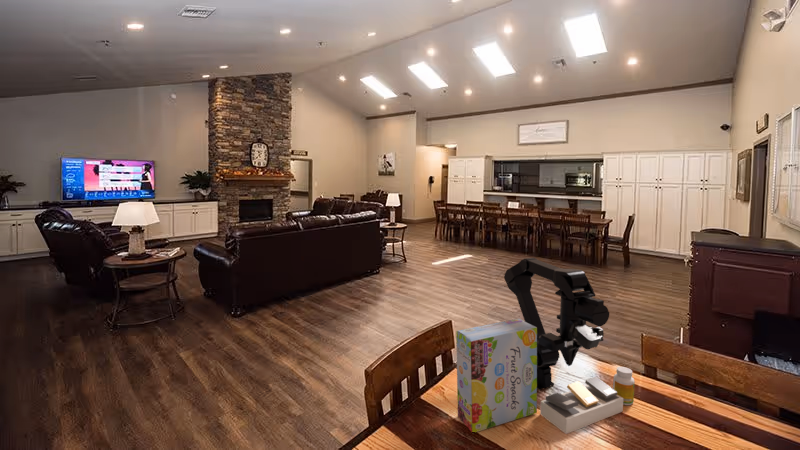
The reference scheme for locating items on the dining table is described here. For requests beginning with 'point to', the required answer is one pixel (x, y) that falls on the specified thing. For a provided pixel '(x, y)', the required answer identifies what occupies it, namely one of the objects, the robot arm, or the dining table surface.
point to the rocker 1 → (562, 401)
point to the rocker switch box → (581, 411)
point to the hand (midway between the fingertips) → (568, 365)
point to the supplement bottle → (624, 385)
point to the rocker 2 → (601, 387)
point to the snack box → (496, 373)
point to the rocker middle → (582, 394)
